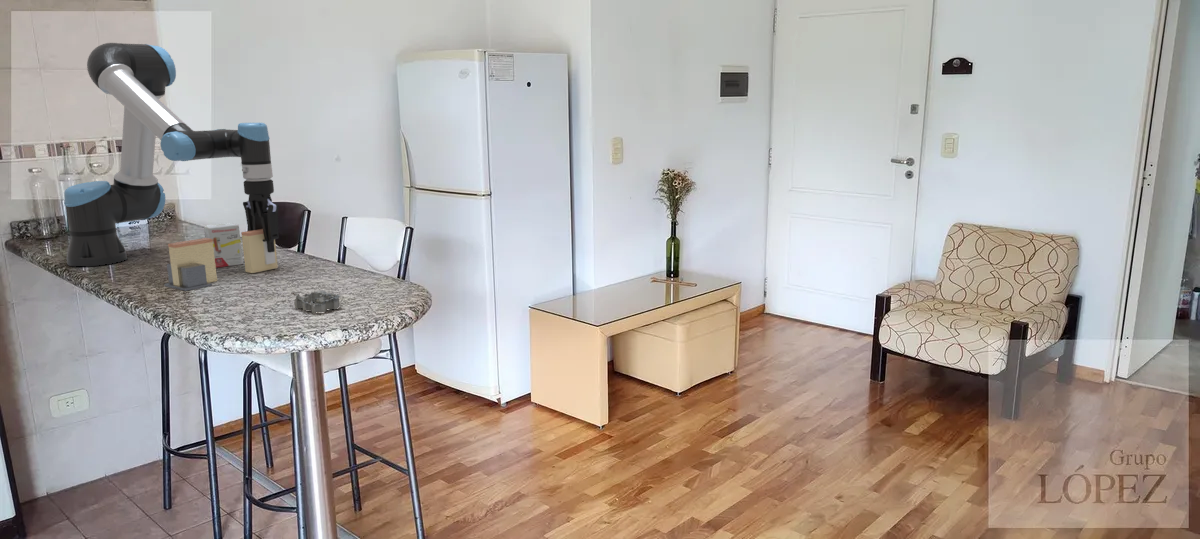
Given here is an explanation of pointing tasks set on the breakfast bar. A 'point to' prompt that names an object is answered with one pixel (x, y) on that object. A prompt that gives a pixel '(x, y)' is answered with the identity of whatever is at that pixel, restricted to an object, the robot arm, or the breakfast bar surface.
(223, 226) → the ink box
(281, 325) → the breakfast bar surface
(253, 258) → the stub
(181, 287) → the ticket holder
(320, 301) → the grey flat lobed block
